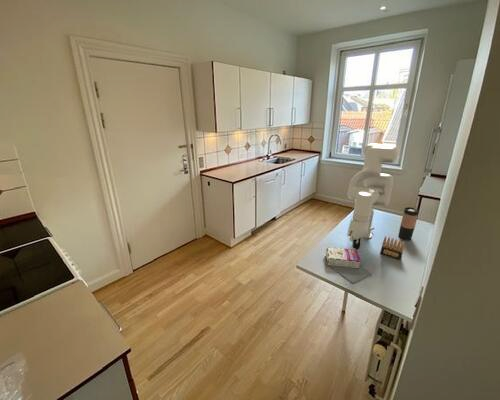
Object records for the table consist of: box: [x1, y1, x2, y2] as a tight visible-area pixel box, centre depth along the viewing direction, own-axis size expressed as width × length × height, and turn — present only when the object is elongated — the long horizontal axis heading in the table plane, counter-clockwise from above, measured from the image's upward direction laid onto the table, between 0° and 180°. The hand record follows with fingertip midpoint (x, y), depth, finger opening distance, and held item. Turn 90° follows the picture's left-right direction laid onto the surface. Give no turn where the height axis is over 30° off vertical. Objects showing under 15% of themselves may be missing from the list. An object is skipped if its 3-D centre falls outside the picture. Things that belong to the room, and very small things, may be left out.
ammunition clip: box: [379, 235, 405, 261], centre depth 136 cm, size 11×2×12 cm, turn 51°
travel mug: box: [398, 207, 420, 241], centre depth 153 cm, size 8×8×20 cm
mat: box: [326, 262, 373, 285], centre depth 128 cm, size 14×18×1 cm
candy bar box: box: [325, 246, 361, 268], centre depth 133 cm, size 11×5×16 cm
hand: (355, 248), depth 125 cm, fingers closed
